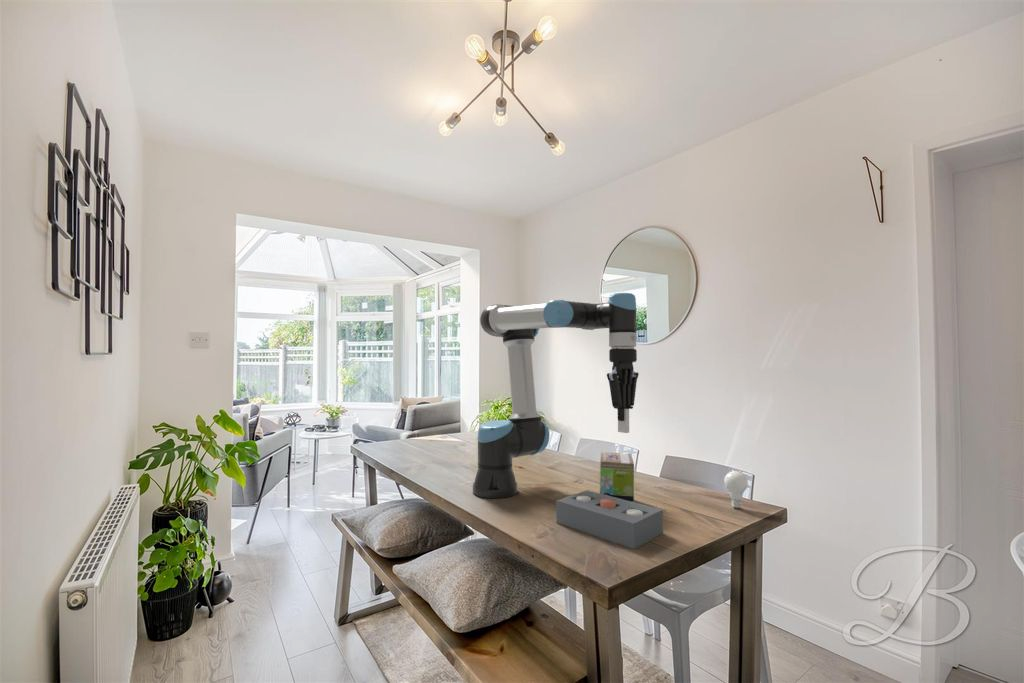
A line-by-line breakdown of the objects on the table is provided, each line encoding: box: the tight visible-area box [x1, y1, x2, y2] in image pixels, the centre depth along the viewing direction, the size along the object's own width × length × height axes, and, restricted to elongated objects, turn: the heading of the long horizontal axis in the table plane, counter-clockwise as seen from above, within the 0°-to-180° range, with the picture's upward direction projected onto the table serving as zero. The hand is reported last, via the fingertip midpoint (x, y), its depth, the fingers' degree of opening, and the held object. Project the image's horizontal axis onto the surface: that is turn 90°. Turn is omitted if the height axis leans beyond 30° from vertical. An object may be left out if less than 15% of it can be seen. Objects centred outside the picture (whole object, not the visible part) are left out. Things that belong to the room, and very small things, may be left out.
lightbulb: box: [724, 470, 749, 510], centre depth 136 cm, size 6×6×11 cm
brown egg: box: [600, 498, 616, 509], centre depth 121 cm, size 4×4×6 cm
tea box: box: [599, 451, 635, 502], centre depth 140 cm, size 15×10×15 cm
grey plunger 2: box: [626, 509, 643, 517], centre depth 115 cm, size 4×4×6 cm
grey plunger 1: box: [576, 496, 591, 502], centre depth 126 cm, size 4×4×6 cm
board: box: [555, 489, 664, 550], centre depth 121 cm, size 24×14×6 cm, turn 44°
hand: (623, 432), depth 127 cm, fingers closed
